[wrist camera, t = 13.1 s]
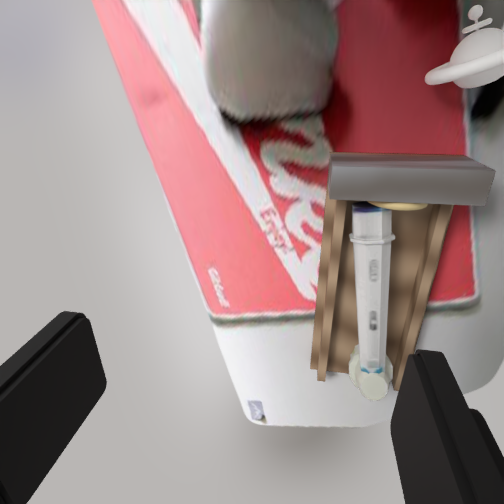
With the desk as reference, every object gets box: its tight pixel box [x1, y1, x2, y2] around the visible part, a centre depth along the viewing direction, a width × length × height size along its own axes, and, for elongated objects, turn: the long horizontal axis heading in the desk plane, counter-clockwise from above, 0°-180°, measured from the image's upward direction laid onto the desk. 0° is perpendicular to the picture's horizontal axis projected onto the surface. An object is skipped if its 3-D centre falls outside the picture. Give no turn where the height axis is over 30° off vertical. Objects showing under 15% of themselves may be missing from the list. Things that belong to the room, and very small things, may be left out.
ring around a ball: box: [425, 5, 504, 88], centre depth 26 cm, size 8×6×8 cm
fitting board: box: [310, 152, 496, 391], centre depth 38 cm, size 30×13×7 cm, turn 1°
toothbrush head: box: [349, 201, 395, 401], centre depth 39 cm, size 5×7×25 cm
